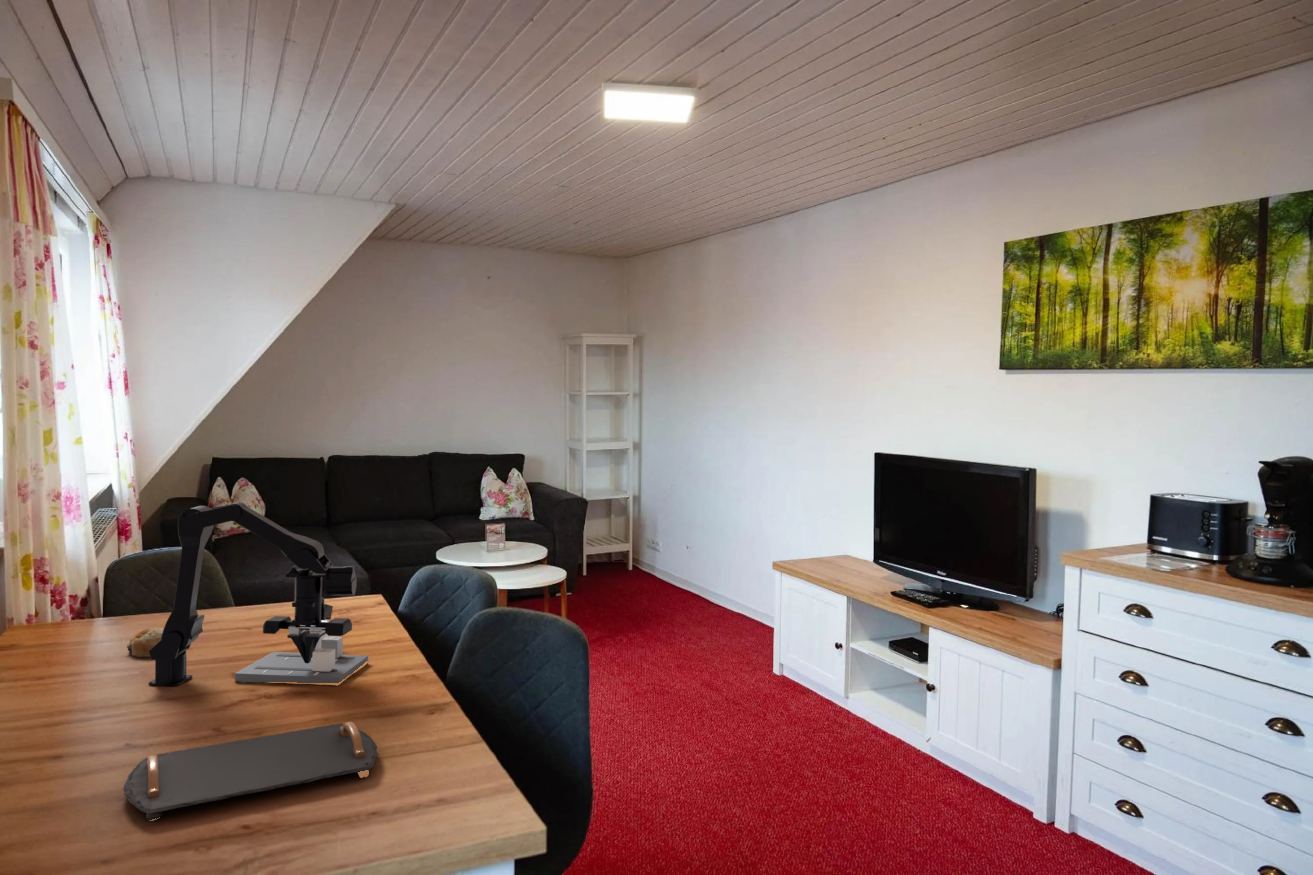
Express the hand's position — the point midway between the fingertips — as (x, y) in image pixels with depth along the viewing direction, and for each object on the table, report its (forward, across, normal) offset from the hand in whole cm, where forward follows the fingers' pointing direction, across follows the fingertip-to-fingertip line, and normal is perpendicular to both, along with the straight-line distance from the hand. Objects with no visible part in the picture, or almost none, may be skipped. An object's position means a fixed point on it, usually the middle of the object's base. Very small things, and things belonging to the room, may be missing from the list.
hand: (307, 662), depth 193 cm
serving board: (+4, -15, +50) cm, 53 cm away
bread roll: (+4, +47, -15) cm, 50 cm away
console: (+4, +3, -4) cm, 6 cm away
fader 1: (+1, -1, -10) cm, 10 cm away
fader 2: (+1, -4, 0) cm, 4 cm away
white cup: (+4, +9, -23) cm, 25 cm away
